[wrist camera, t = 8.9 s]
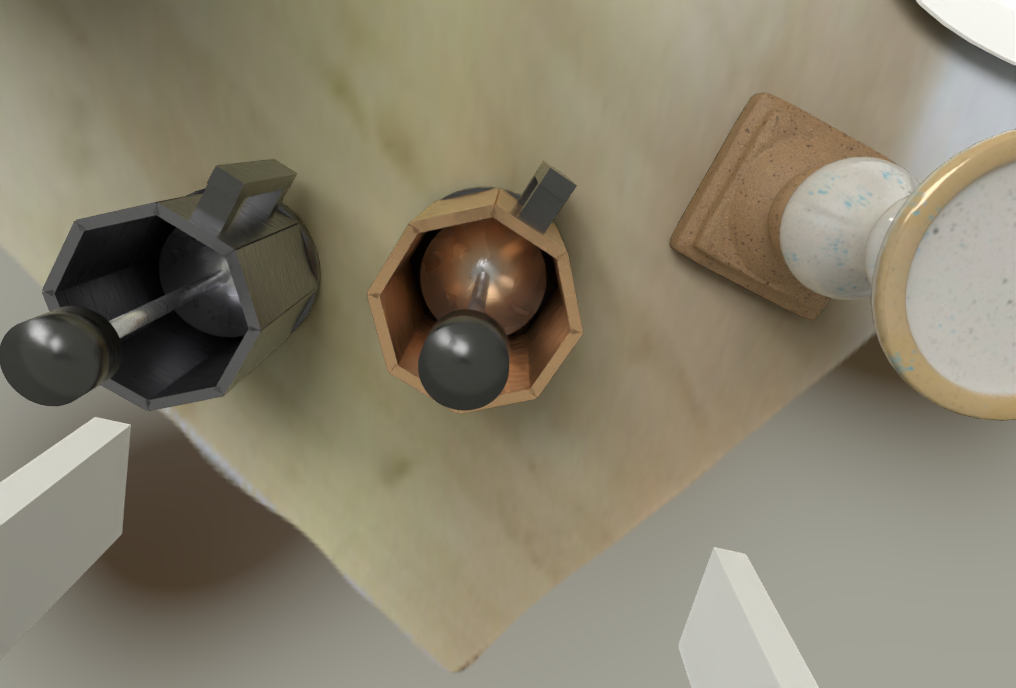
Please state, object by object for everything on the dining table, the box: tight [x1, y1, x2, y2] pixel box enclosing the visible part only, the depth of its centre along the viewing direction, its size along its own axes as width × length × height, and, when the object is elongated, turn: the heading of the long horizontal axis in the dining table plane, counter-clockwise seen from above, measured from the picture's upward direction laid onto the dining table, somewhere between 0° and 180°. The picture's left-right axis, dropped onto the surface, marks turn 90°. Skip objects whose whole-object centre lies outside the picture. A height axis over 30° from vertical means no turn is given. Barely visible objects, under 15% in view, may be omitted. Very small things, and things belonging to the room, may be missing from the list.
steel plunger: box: [0, 228, 249, 406], centre depth 37 cm, size 8×8×19 cm
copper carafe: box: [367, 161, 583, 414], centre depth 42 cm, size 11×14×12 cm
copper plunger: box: [418, 217, 546, 411], centre depth 37 cm, size 8×8×19 cm
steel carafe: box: [42, 159, 320, 411], centre depth 42 cm, size 11×14×12 cm
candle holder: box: [670, 93, 1016, 421], centre depth 35 cm, size 11×11×24 cm
